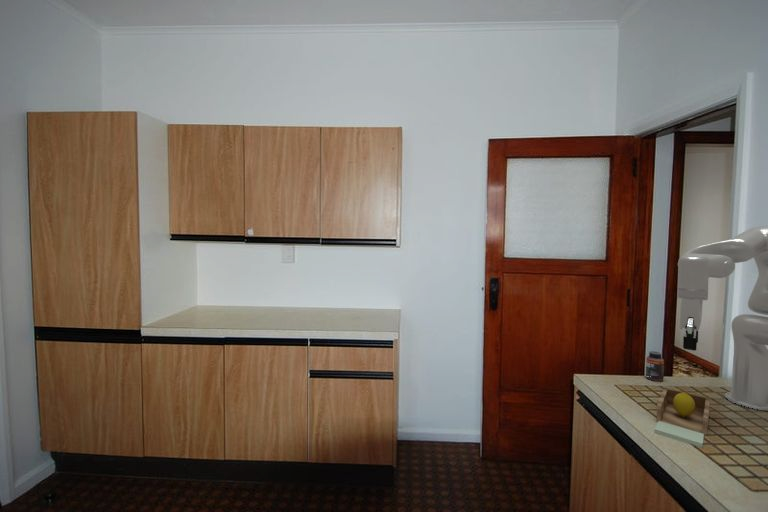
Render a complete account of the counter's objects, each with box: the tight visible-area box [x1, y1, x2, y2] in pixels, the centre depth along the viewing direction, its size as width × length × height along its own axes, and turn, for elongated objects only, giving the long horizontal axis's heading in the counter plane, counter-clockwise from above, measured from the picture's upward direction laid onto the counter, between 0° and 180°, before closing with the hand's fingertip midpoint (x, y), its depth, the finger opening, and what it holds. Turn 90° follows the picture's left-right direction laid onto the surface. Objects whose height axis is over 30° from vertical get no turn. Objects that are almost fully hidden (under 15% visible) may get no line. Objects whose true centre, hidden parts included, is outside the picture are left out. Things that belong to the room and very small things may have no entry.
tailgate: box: [654, 421, 705, 448], centre depth 108 cm, size 2×11×8 cm
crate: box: [655, 387, 711, 437], centre depth 118 cm, size 18×12×6 cm, turn 136°
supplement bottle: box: [645, 350, 665, 382], centre depth 150 cm, size 6×6×11 cm
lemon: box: [673, 391, 695, 417], centre depth 118 cm, size 6×6×8 cm
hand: (690, 345), depth 118 cm, fingers open, 9 cm apart
